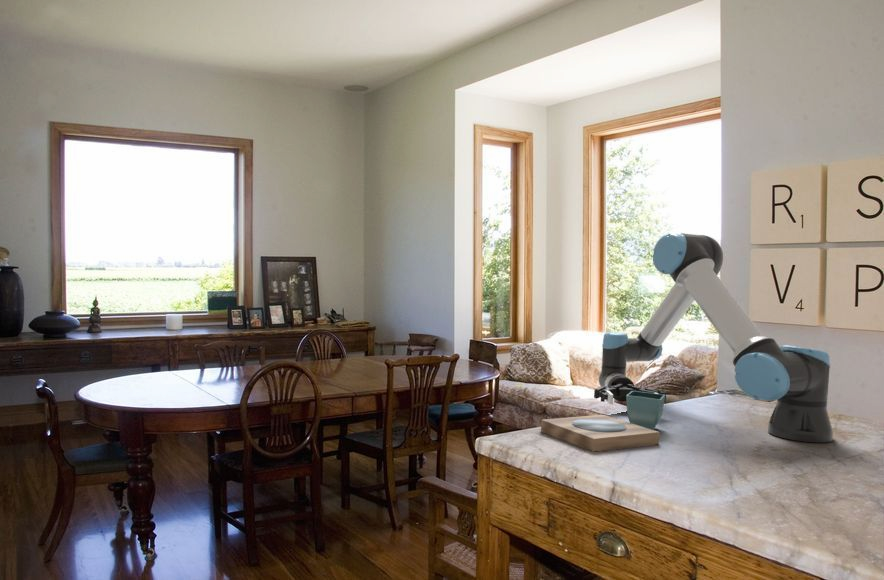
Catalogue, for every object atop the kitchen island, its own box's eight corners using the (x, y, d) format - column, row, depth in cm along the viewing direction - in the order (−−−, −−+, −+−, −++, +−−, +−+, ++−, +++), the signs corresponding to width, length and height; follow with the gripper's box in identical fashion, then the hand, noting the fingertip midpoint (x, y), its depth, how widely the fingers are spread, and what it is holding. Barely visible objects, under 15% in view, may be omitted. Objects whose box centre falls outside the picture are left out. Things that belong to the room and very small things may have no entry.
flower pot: (663, 427, 185) (665, 394, 184) (659, 434, 177) (661, 399, 176) (630, 423, 188) (631, 390, 188) (624, 429, 180) (625, 395, 180)
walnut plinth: (658, 444, 166) (659, 431, 166) (593, 452, 156) (594, 438, 156) (602, 425, 183) (603, 413, 183) (540, 431, 174) (541, 418, 174)
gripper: (660, 401, 211) (682, 416, 189) (577, 397, 211) (590, 412, 190) (661, 376, 210) (683, 389, 189) (579, 373, 211) (591, 384, 190)
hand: (636, 400), depth 190 cm, fingers open, 13 cm apart
